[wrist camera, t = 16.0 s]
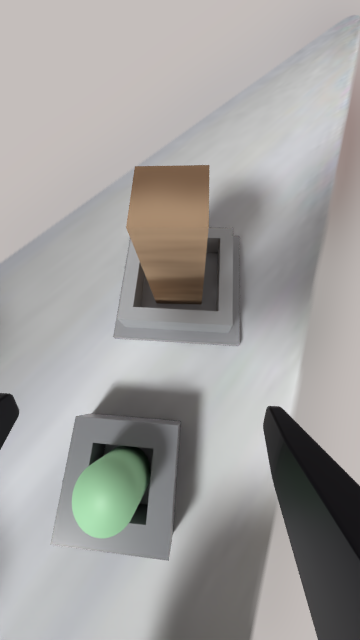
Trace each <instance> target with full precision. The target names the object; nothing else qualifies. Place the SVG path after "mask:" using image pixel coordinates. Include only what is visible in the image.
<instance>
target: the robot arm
mask: <svg viewBox="0 0 360 640" xmlns="http://www.w3.org/2000/svg"><path fill="white" fill-rule="evenodd" d="M18 415H19V408H18V406H17V404H16V402H15V399H14V397H13V395H11V394H7V393H0V449H1V447H2V446H3V444H4V442H5V440H6V438H7V436H8V434H9V433H10V431H11V429H12V427H13V425H14V423H15V421H16V420H17V418H18ZM263 429H264V435H265V441H266V446H267V452H268V458H269V463H270V469H271V474H272V479H273V483H274V487H275V490H276V494H277V497H278V501H279V504H280V508H281V511H282V515H283V518H284V522H285V525H286V529H287V532H288V536H289V539H290V543H291V546H292V550H293V553H294V557H295V560H296V564H297V567H298V571H299V574H300V578H301V581H302V585H303V588H304V592H305V596H306V599H307V602H308V606H309V610H310V613H311V617H312V620H313V624H314V627H315V631H316V634H317V637H318V640H360V486H359V485H358V484H357V483H356V482H355V481H354V480H353V479H352V478H351V477H350V476H349V475H348V474H347V473H346V472H345V471H344V470H343V469H342V468H341V467H340V466H339V465H338V464H337V463H336V462H335V461H334V460H333V459H332V458H331V457H330V456H329V455H328V454H327V453H326V452H325V451H324V450H323V449H322V448H321V447H320V446H319V445H318V444H317V443H316V442H315V441H314V440H313V439H312V438H311V437H310V436H309V435H308V434H307V433H306V432H305V431H304V430H303V429H302V428H301V427H300V426H299V425H298V424H297V423H296V422H295V421H294V420H293V419H292V418H291V417H290V416H289V415H288V414H287V413H286V412H285V411H284V410H283V409H282V408H281V407H279V406H268V407H267V409H266V414H265V418H264V423H263Z"/></svg>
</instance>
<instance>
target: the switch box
mask: <svg viewBox="0 0 360 640" xmlns="http://www.w3.org/2000/svg"><path fill="white" fill-rule="evenodd" d="M179 435H180V421H172V420H161V419H149V418H138V417H127V416H115V415H104V414H93V413H91V414H86V415H80V416H76V418H75V423H74V428H73V433H72V438H71V443H70V448H69V453H68V458H67V463H66V468H65V473H64V478H63V483H62V488H61V494H60V499H59V504H58V509H57V514H56V519H55V524H54V529H53V534H52V539H51V544H50V545H56V546H64V547H71V548H79V549H86V550H93V551H101V552H108V553H116V554H123V555H131V556H138V557H146V558H153V559H161V560H168V561H169V555H170V549H171V542H172V535H173V522H174V507H175V493H176V479H177V464H178V450H179ZM121 445H122V446H132V447H138V448H139V449H141V450H142V451H143V452H144V453H145V455H146V456H147V458H148V460H149V463H150V468H151V476H150V481H149V484H148V487H147V489H146V491H145V493H144V495H143V497H142V499H141V501H140V503H139V505H138V507H137V509H136V511H135V513H134V515H133V517H132V519H131V520H130V522H129V523H128V525H127V526H126V527H125V528H124V529H123V530H122V531H121V532H119V533H118V534H116V535H114V536H112V537H109V538H95V537H92V536H90V535H88V534H86V533H85V532H84V531H83V530H82V529H81V528H80V527H79V525H78V524H77V522H76V520H75V518H74V515H73V510H72V494H73V490H74V486H75V484H76V482H77V479H78V478H79V476H80V475H81V473H82V472H83V471H84V470H85V469H86V468H87V467H88V466H89V465H91V464H92V463H94V462H95V461H97V460H98V459H100V458H101V457H103V456H104V452H105V455H106V454H107V453H109V452H110V451H112V450H113V449H115V448H116V447H119V446H121ZM105 446H106V448H105Z"/></svg>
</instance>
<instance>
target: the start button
mask: <svg viewBox="0 0 360 640" xmlns="http://www.w3.org/2000/svg"><path fill="white" fill-rule="evenodd" d="M150 476H151V468H150V463H149V460H148V458H147V456H146V455H145V453H144V452H143V451H142V450H141V449H139V448H138V447H132V446H122V445H121V446H119V447H116V448H115V449H113V450H112V451H110V452H109V453H107V454H106V455H104V456H103V457H101V458H100V459H98V460H97V461H95V462H94V463H92V464H91V465H89V466H88V467H87V468H86V469H85V470H84V471H83V472H82V473H81V475H80V476H79V478H78V479H77V482H76V484H75V486H74V490H73V494H72V510H73V515H74V518H75V520H76V522H77V524H78V525H79V527H80V528H81V529H82V530H83V531H84V532H85V533H86V534H88V535H90V536H92V537H95V538H109V537H112V536H114V535H116V534H118V533H119V532H121V531H122V530H123V529H124V528H125V527H126V526H127V525H128V523H129V522H130V520H131V519H132V517H133V515H134V513H135V511H136V509H137V507H138V505H139V503H140V501H141V499H142V497H143V495H144V493H145V491H146V489H147V487H148V484H149V481H150Z"/></svg>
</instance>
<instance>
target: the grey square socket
mask: <svg viewBox="0 0 360 640" xmlns="http://www.w3.org/2000/svg"><path fill="white" fill-rule="evenodd" d="M113 337H114V338H117V339H133V340H149V341H165V342H181V343H197V344H213V345H229V346H239V345H240V316H239V236H233V228H212V227H209V229H208V240H207V251H206V262H205V273H204V284H203V295H202V304H161V303H156V301H155V298H154V296H153V293H152V291H151V288H150V286H149V283H148V281H147V278H146V276H145V273H144V271H143V268H142V266H141V263H140V261H139V258H138V256H137V253H136V251H135V248H134V246H133V243H132V241H131V238H130V241H129V247H128V253H127V259H126V265H125V271H124V277H123V282H122V288H121V294H120V300H119V306H118V312H117V318H116V324H115V330H114V336H113Z"/></svg>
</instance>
